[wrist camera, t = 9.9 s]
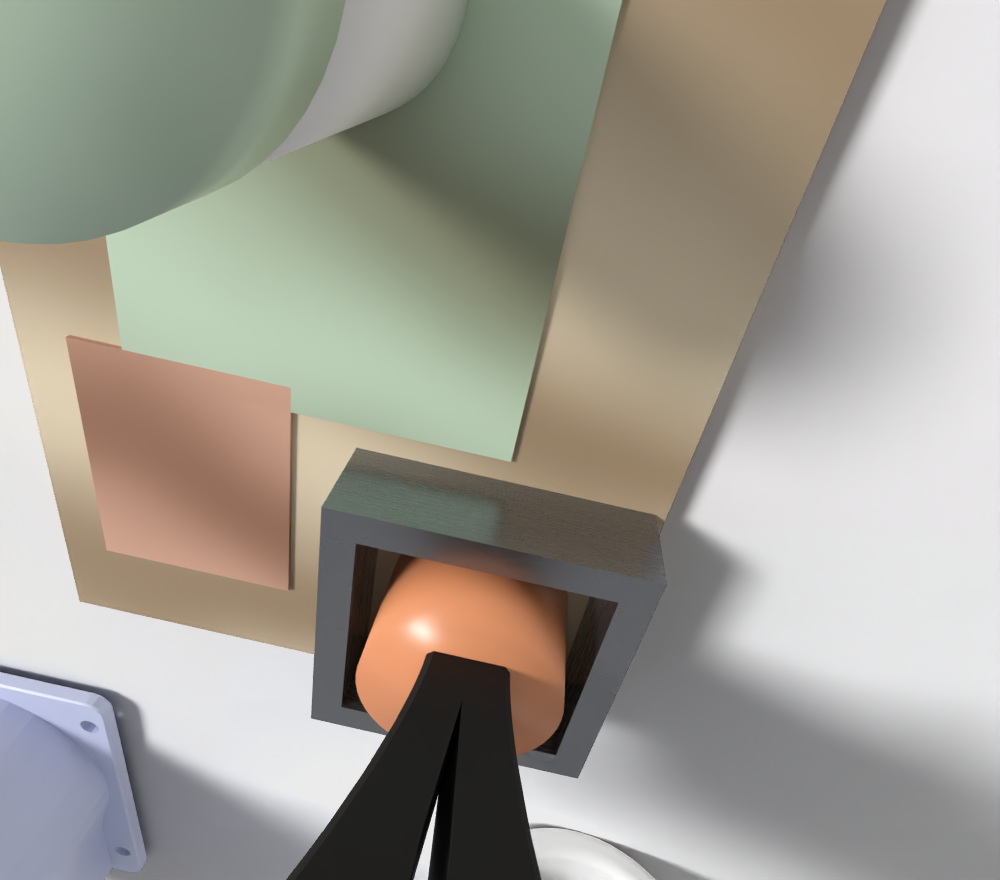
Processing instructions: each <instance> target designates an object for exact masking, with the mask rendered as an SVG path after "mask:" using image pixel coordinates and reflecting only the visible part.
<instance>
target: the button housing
mask: <svg viewBox="0 0 1000 880" xmlns="http://www.w3.org/2000/svg"><path fill="white" fill-rule="evenodd" d="M378 549H382V550H387V551H391V552H396V553H400V554H405V555H409V556H413V557H418V558H422V559H427V560H431V561H436V562H440V563H445V564H449V565H453V566H458V567H462V568H467V569H471V570H476V571H480V572H484V573H489V574H493V575H498V576H502V577H507V578H511V579H516V580H520V581H524V582H529V583H533V584H538V585H542V586H547V587H551V588H555V589H560V590H564V591H569V592H573V593H578V594H582V595H587V596H590V599H589V602H588V604H587V607H586V610H585V612H584V615H583V618H582V620H581V623H580V626H579V628H578V631H577V634H576V636H575V639H574V642H573V644H572V647H571V650H570V653H569V655H568V658H567V661H566V666H565V696H564V713H563V716H562V720H561V722H560V724H559V726H558V728H557V730H556V731H555V732H554V733H553V735H552V736H551V737H550V738H549V739H548V740H546V741H545V742H544V743H543V744H541V745H540V746H538V747H537V748H535V749H533V750H531V751H529V752H527V753H524V754H521V755H518V756H517V762H518V765H520V766H525V767H529V768H534V769H538V770H543V771H547V772H551V773H556V774H560V775H565V776H569V777H574V778H578V777H579V774H580V772H581V770H582V768H583V766H584V764H585V761H586V759H587V757H588V755H589V753H590V750H591V748H592V746H593V744H594V742H595V740H596V737H597V735H598V733H599V731H600V729H601V726H602V724H603V722H604V720H605V718H606V716H607V713H608V711H609V709H610V707H611V705H612V703H613V700H614V698H615V696H616V694H617V692H618V689H619V687H620V685H621V683H622V681H623V679H624V676H625V674H626V672H627V670H628V668H629V665H630V663H631V661H632V659H633V657H634V655H635V652H636V650H637V648H638V646H639V644H640V642H641V639H642V637H643V635H644V633H645V631H646V628H647V626H648V624H649V622H650V620H651V618H652V615H653V613H654V611H655V609H656V607H657V605H658V602H659V600H660V598H661V596H662V594H663V591H664V589H665V587H666V585H667V584H666V578H665V571H664V565H663V558H662V552H661V545H660V539H659V532H658V526H657V519H656V515H654V514H650V513H645V512H641V511H636V510H632V509H627V508H623V507H618V506H614V505H610V504H605V503H601V502H596V501H592V500H587V499H583V498H579V497H574V496H570V495H565V494H561V493H556V492H552V491H547V490H543V489H539V488H534V487H530V486H525V485H521V484H516V483H512V482H507V481H503V480H499V479H494V478H490V477H485V476H481V475H476V474H472V473H467V472H463V471H459V470H454V469H450V468H445V467H441V466H436V465H432V464H428V463H423V462H419V461H414V460H410V459H405V458H401V457H396V456H392V455H388V454H383V453H379V452H374V451H370V450H365V449H361V448H356V449H355V451H354V453H353V454H352V456H351V458H350V460H349V461H348V463H347V465H346V466H345V468H344V470H343V471H342V473H341V475H340V476H339V478H338V480H337V481H336V483H335V485H334V487H333V488H332V490H331V492H330V493H329V495H328V497H327V498H326V500H325V502H324V503H323V505H322V507H321V525H320V546H319V567H318V588H317V609H316V629H315V650H314V671H313V692H312V713H311V718H312V719H317V720H321V721H325V722H330V723H334V724H339V725H343V726H348V727H352V728H356V729H361V730H365V731H370V732H374V733H379V734H383V735H387V734H388V732H387V731H386V730H384V729H383V728H382V727H381V726H380V725H379V724H378V723H377V722H376V721H375V720H374V719H373V718H372V717H371V716H370V715H369V713H368V712H367V711H366V709H365V708H364V706H363V704H362V702H361V700H360V698H359V695H358V692H357V687H356V671H357V666H358V663H359V661H360V658H361V656H362V653H363V650H364V648H365V645H366V642H367V640H368V632H369V623H370V614H371V605H372V596H373V588H374V579H375V570H376V561H377V553H378Z"/></svg>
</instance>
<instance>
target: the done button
mask: <svg viewBox="0 0 1000 880" xmlns="http://www.w3.org/2000/svg"><path fill="white" fill-rule="evenodd" d="M567 607H568V597H567V591H564V590H560V589H555V588H551V587H547V586H542V585H538V584H533V583H529V582H524V581H520V580H516V579H511V578H507V577H502V576H498V575H493V574H489V573H484V572H480V571H476V570H471V569H467V568H462V567H458V566H453V565H449V564H445V563H440V562H436V561H431V560H427V559H422V558H418V557H413V556H409V555H405V554H402V555H401V556H400V558H399V559H398V561H397V563H396V566H395V568H394V571H393V573H392V576H391V579H390V581H389V584H388V587H387V589H386V592H385V595H384V597H383V600H382V603H381V605H380V608H379V610H378V613H377V616H376V618H375V621H374V624H373V626H372V629H371V632H370V634H369V637H368V640H367V642H366V645H365V648H364V650H363V653H362V656H361V658H360V661H359V663H358V666H357V671H356V687H357V692H358V695H359V698H360V700H361V702H362V704H363V706H364V708H365V709H366V711H367V712H368V713H369V715H370V716H371V717H372V718H373V719H374V720H375V721H376V722H377V723H378V724H379V725H380V726H381V727H382V728H383V729H384V730H386V731H387V732H389V730H390V729H391V727H392V725H393V724H394V722H395V720H396V718H397V716H398V715H399V713H400V711H401V709H402V707H403V705H404V704H405V702H406V700H407V698H408V696H409V694H410V692H411V690H412V688H413V686H414V684H415V682H416V679H417V677H418V675H419V672H420V670H421V668H422V665H423V663H424V660H425V657H426V654H427V653H430V652H433V651H437V652H441V653H446V654H450V655H455V656H459V657H463V658H468V659H472V660H477V661H481V662H486V663H490V664H495V665H499V666H504V667H506V668H507V670H508V671H509V672H510V696H511V712H512V723H513V731H514V740H515V748H516V755H517V756H518V755H521V754H524V753H527V752H529V751H531V750H533V749H535V748H537V747H538V746H540V745H541V744H543V743H544V742H545V741H546V740H548V739H549V738H550V737H551V736H552V735H553V733H554V732H555V731H556V730H557V728H558V726H559V724H560V722H561V720H562V716H563V713H564V696H565V666H566V637H567Z"/></svg>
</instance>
